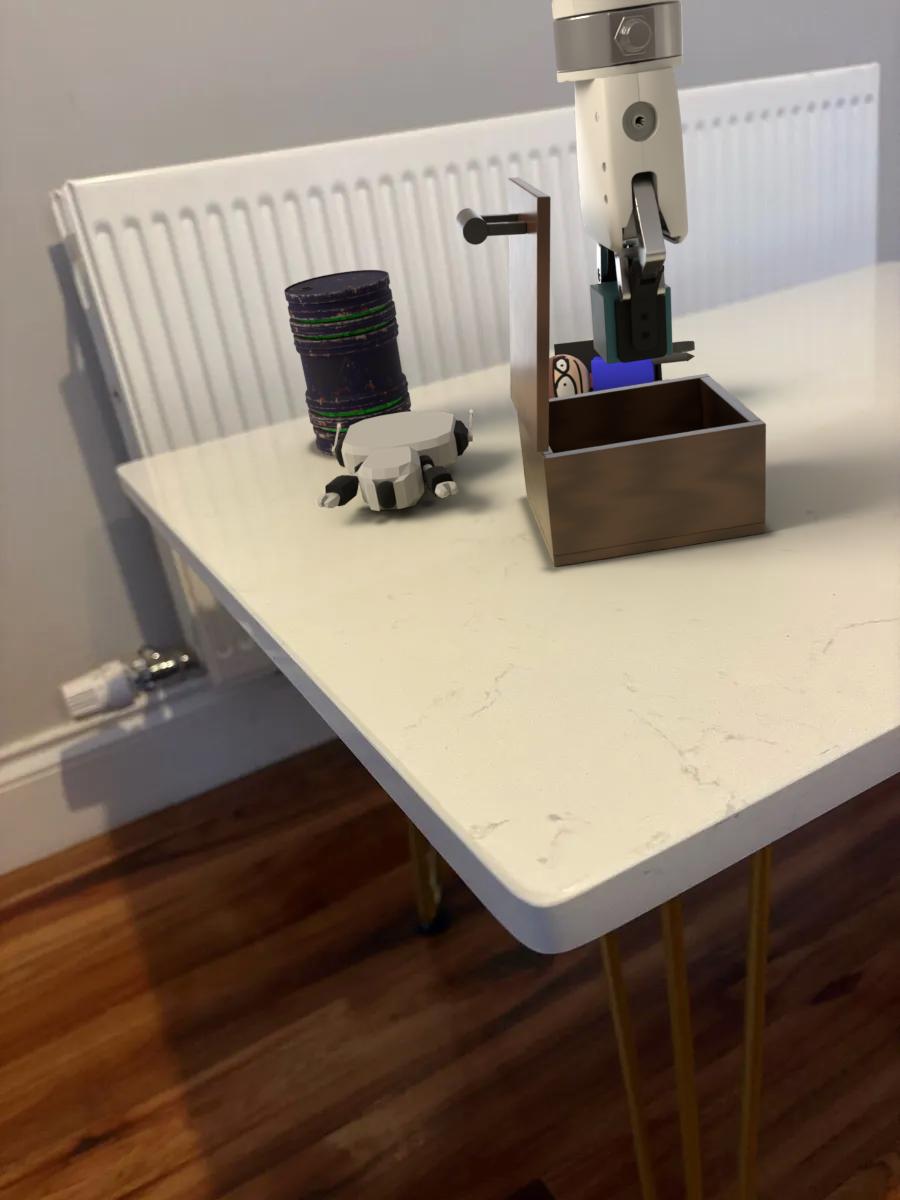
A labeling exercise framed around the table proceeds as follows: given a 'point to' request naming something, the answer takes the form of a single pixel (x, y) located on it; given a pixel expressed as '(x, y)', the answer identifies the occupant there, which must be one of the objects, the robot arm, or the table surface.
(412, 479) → the robot toy
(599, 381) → the character figurine
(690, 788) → the table surface
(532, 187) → the lid
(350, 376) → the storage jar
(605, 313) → the cube
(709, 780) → the table surface
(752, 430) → the box
